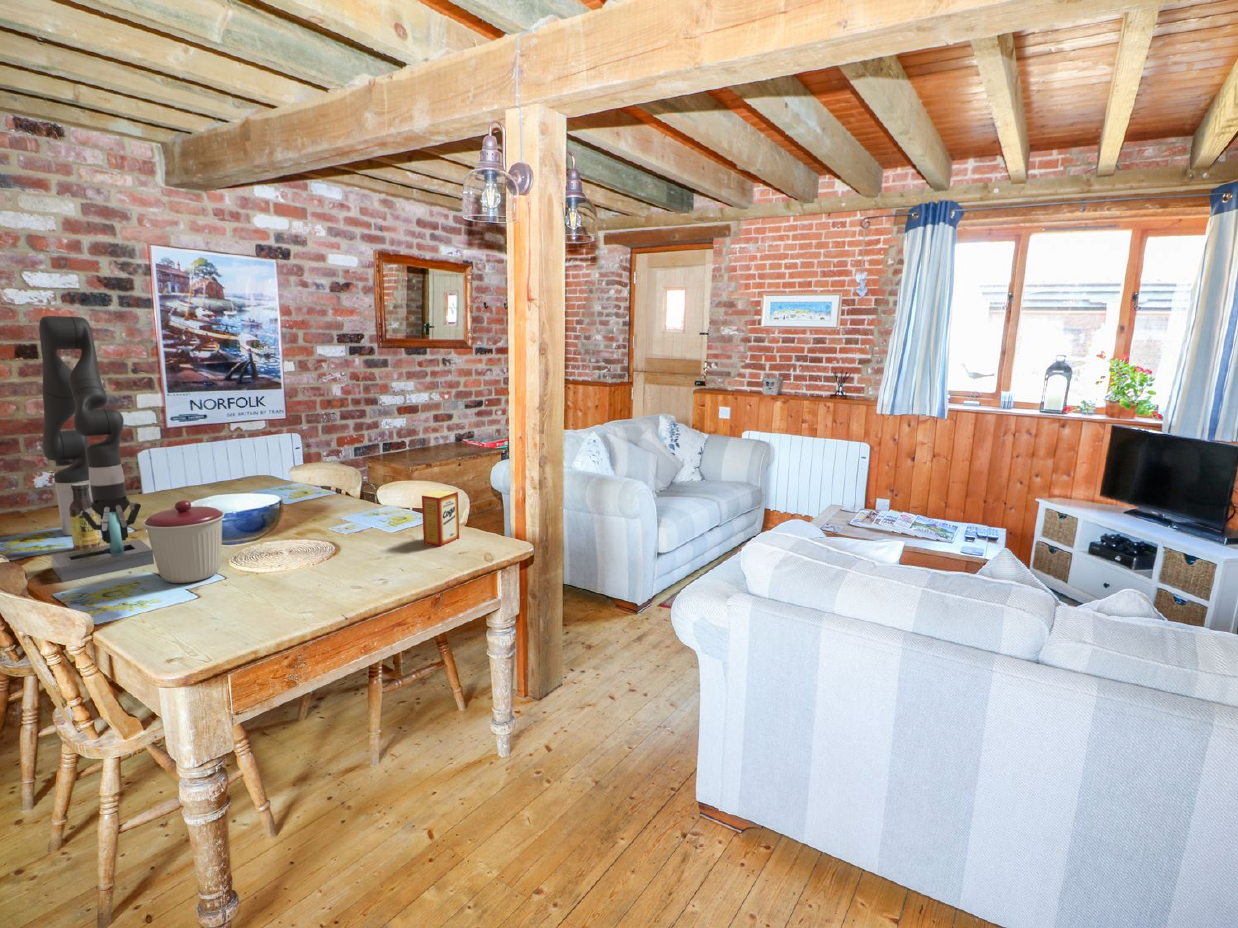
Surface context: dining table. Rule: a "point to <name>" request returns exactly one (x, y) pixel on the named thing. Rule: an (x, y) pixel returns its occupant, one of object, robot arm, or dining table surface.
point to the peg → (115, 533)
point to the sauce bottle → (82, 519)
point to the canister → (186, 542)
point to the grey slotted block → (100, 560)
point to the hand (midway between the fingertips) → (115, 540)
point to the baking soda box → (440, 517)
